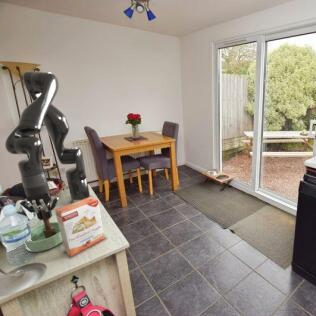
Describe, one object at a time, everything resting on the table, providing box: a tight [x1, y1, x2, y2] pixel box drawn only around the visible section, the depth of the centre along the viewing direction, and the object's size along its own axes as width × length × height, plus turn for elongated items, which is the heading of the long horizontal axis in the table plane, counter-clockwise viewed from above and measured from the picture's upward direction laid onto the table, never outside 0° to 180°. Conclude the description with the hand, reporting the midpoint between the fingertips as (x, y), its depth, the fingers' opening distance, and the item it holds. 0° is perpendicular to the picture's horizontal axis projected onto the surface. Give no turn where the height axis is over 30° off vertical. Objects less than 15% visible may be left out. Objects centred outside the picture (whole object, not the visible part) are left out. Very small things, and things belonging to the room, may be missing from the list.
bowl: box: [25, 221, 63, 253], centre depth 99 cm, size 14×14×6 cm
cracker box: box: [54, 196, 105, 257], centre depth 95 cm, size 14×6×21 cm, turn 148°
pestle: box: [40, 207, 56, 238], centre depth 98 cm, size 4×4×14 cm
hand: (45, 218), depth 97 cm, fingers closed on pestle, 2 cm apart
